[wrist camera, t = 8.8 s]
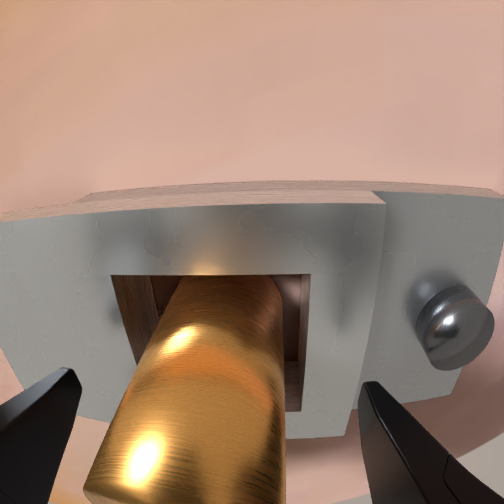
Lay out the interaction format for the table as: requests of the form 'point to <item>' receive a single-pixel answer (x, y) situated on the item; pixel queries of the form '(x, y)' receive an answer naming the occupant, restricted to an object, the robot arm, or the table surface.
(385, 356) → the grey panel with knob
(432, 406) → the table surface
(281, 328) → the gold metallic cylinder
